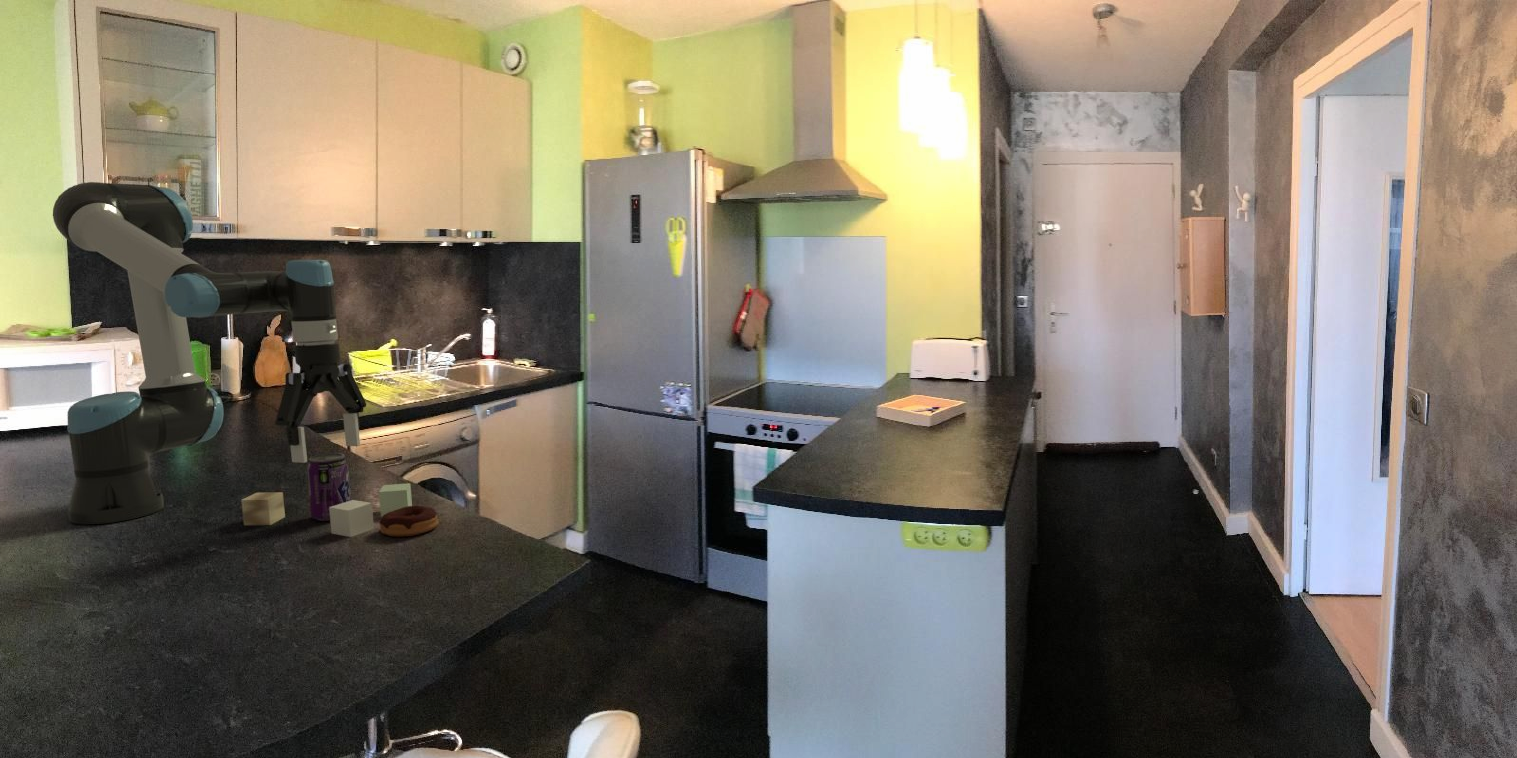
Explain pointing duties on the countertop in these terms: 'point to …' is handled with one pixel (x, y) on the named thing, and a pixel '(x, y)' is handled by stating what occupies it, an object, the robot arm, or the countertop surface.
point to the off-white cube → (351, 518)
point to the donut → (409, 521)
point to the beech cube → (263, 508)
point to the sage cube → (394, 497)
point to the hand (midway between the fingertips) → (327, 453)
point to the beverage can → (327, 483)
